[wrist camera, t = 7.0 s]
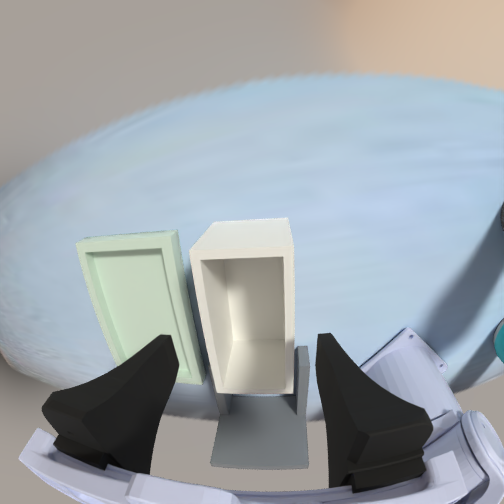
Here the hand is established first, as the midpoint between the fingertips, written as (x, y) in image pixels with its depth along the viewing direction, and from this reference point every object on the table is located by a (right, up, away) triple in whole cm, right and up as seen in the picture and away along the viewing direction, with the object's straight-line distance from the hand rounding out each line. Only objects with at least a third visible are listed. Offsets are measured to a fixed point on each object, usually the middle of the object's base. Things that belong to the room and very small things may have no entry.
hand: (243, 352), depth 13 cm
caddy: (+1, +2, +7) cm, 8 cm away
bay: (+1, -6, +10) cm, 12 cm away
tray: (-9, 0, +9) cm, 12 cm away
